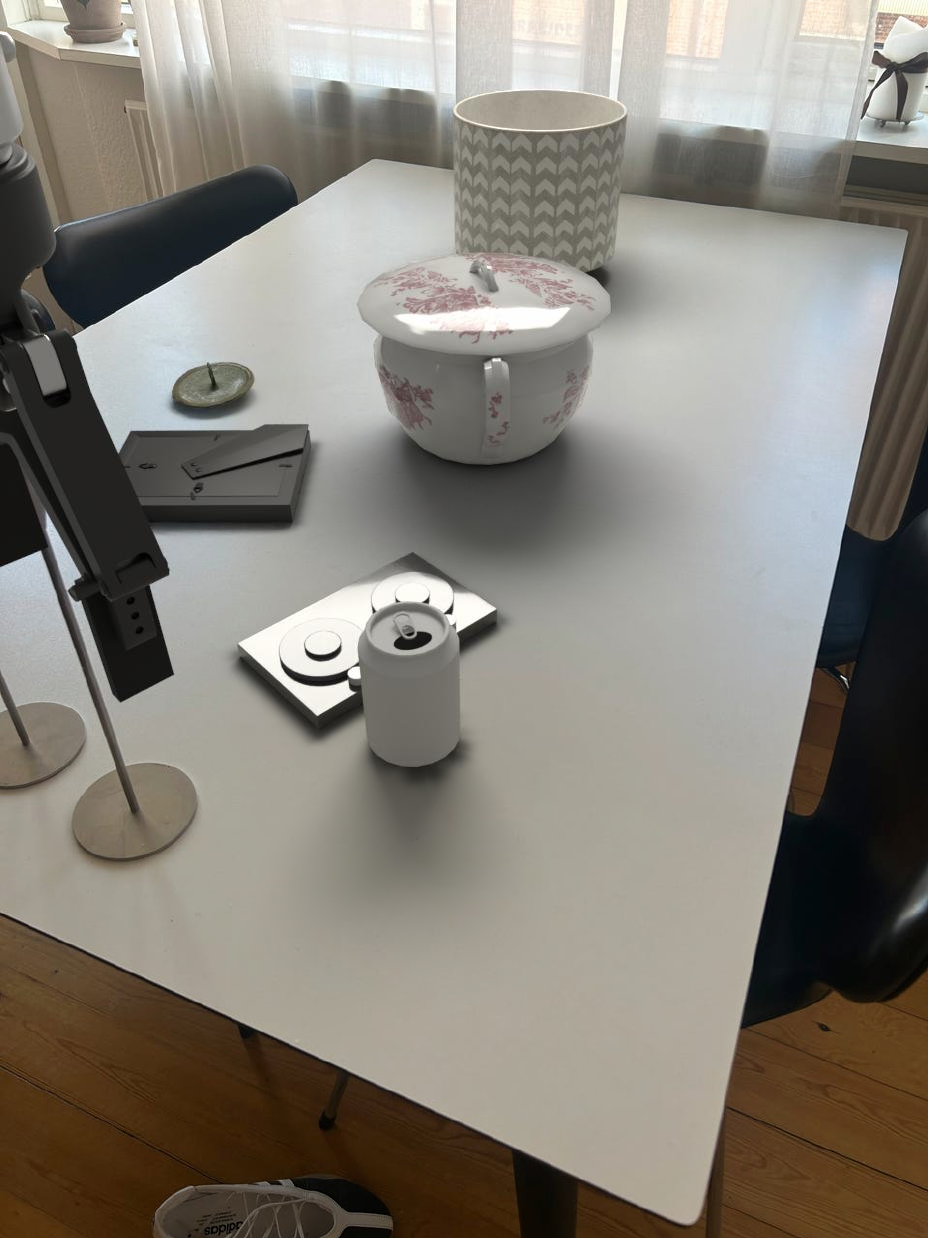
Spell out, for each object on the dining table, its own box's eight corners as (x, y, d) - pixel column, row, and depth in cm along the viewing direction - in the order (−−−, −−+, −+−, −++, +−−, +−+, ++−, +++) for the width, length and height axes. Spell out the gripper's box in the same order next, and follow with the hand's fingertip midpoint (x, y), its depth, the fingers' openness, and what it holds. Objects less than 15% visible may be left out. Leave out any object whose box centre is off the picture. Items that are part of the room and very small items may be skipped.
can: (386, 787, 74) (376, 672, 66) (354, 722, 79) (341, 609, 71) (476, 756, 76) (476, 642, 68) (438, 695, 81) (435, 583, 74)
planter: (629, 256, 159) (645, 95, 144) (588, 313, 142) (601, 137, 126) (487, 238, 166) (488, 83, 151) (431, 291, 149) (425, 121, 133)
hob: (239, 656, 85) (235, 634, 84) (413, 563, 95) (412, 543, 94) (319, 729, 78) (315, 707, 77) (497, 621, 89) (497, 600, 87)
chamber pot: (457, 363, 129) (455, 202, 116) (640, 420, 117) (661, 247, 104) (316, 450, 112) (294, 273, 99) (513, 528, 100) (519, 338, 86)
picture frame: (311, 445, 113) (134, 446, 113) (308, 423, 111) (129, 424, 111) (292, 521, 101) (95, 522, 101) (289, 498, 99) (88, 499, 99)
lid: (269, 395, 126) (266, 356, 124) (234, 412, 117) (231, 371, 115) (196, 390, 128) (192, 351, 126) (156, 406, 119) (151, 365, 117)
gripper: (192, 213, 29) (282, 710, 43) (-93, 82, 43) (44, 486, 57) (-62, 278, 25) (127, 800, 39) (-283, 110, 39) (-88, 536, 53)
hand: (78, 614), depth 48 cm, fingers open, 13 cm apart
